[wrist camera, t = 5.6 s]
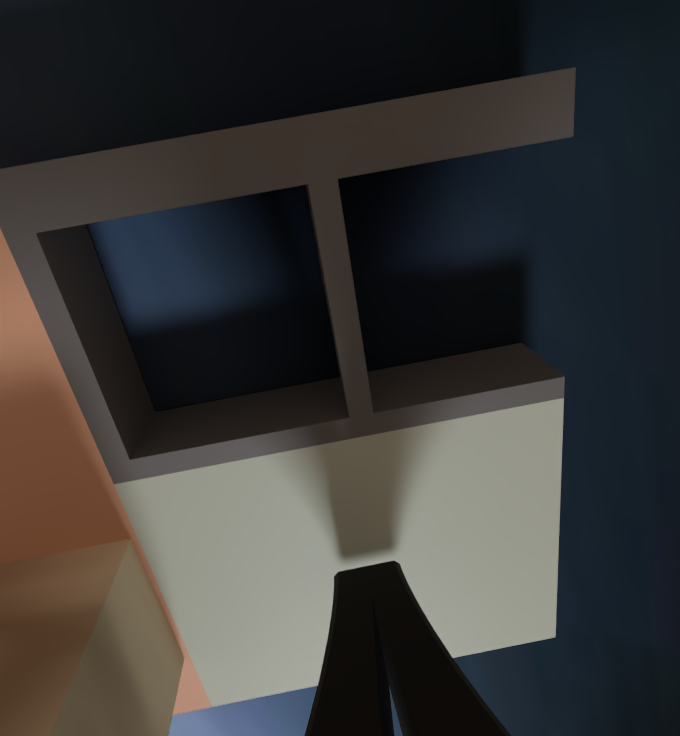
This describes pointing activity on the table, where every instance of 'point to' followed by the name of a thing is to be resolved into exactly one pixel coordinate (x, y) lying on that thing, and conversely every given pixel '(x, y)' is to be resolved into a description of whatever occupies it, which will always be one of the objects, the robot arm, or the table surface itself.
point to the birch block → (85, 646)
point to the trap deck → (279, 410)
